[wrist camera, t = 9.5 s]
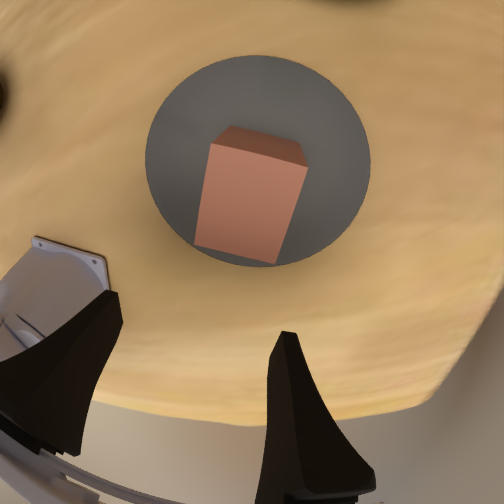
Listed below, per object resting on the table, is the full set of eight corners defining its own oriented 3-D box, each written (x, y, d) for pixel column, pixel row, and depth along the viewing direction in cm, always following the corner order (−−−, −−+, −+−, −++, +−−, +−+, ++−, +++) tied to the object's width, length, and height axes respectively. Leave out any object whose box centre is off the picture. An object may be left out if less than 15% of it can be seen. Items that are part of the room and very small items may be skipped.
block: (214, 201, 17) (194, 244, 13) (230, 125, 15) (211, 143, 10) (276, 216, 18) (274, 264, 14) (299, 142, 15) (308, 167, 11)
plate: (146, 236, 20) (142, 242, 20) (166, 44, 12) (161, 43, 12) (324, 277, 21) (325, 284, 20) (394, 98, 13) (399, 99, 12)
